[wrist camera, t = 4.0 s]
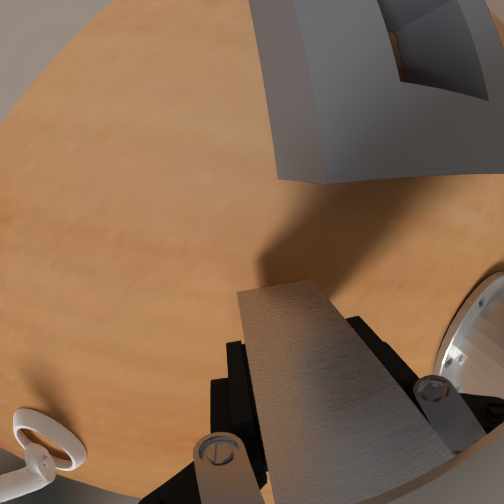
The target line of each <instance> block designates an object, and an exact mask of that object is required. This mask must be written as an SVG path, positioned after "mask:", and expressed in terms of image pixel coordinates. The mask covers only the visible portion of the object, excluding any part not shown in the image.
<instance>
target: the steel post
mask: <svg viewBox="0 0 504 504" xmlns="http://www.w3.org/2000/svg"><path fill="white" fill-rule="evenodd" d="M237 296H238V303H239V309H240V315H241V321H242V327H243V333H244V339H245V345H246V351H247V357H248V363H249V369H250V374H251V380H252V386H253V391H254V397H255V403H256V408H257V414H258V419H259V424H260V430H261V435H262V440H263V446H264V451H265V456H266V461H267V466H268V471H269V476H270V481H271V486H272V491H273V496H274V501H275V504H356V503H359V502H362V501H364V500H367V499H370V498H372V497H375V496H377V495H380V494H382V493H385V492H387V491H389V490H392V489H394V488H396V487H398V486H401V485H403V484H405V483H407V482H409V481H411V480H413V479H415V478H417V477H419V476H421V475H423V474H425V473H427V472H429V471H431V470H432V469H434V468H436V467H438V466H440V465H441V464H443V463H445V462H446V461H448V460H450V459H451V458H453V457H454V456H453V454H452V453H451V452H450V450H449V449H448V448H447V446H446V445H445V444H444V442H443V441H442V440H441V438H440V437H439V436H438V434H437V433H436V432H435V431H434V429H433V428H432V427H431V425H430V424H429V423H428V421H427V420H426V419H425V418H424V416H423V415H422V414H421V412H420V411H419V410H418V408H417V407H416V406H415V405H414V403H413V402H412V401H411V400H410V398H409V397H408V396H407V394H406V393H405V392H404V391H403V389H402V388H401V387H400V386H399V384H398V383H397V382H396V381H395V379H394V378H393V377H392V376H391V374H390V373H389V372H388V371H387V369H386V368H385V367H384V366H383V364H382V363H381V362H380V361H379V359H378V358H377V357H376V356H375V355H374V353H373V352H372V351H371V350H370V348H369V347H368V346H367V345H366V344H365V342H364V341H363V340H362V339H361V337H360V336H359V335H358V334H357V333H356V331H355V330H354V329H353V328H352V327H351V325H350V324H349V323H348V322H347V321H346V319H345V318H344V317H343V316H342V315H341V313H340V312H339V311H338V310H337V309H336V307H335V306H334V305H333V304H332V303H331V302H330V300H329V299H328V298H327V297H326V296H325V294H324V293H323V292H322V291H321V290H320V289H319V287H318V286H317V285H316V284H315V283H314V282H313V280H312V279H307V280H301V281H296V282H291V283H285V284H280V285H274V286H269V287H263V288H257V289H252V290H246V291H240V292H237Z"/></svg>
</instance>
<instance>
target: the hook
mask: <svg viewBox="0 0 504 504" xmlns="http://www.w3.org/2000/svg"><path fill="white" fill-rule="evenodd" d="M21 428H27V429H30V430H33V431H35V432H38V433H40V434H42V435H44V436H45V437H47V438H49V439H50V440H52V441H53V442H54V443H56V444H57V445H58V446H60V447H61V448H62V449H63V450H64V451H65V452H66V453H67V454H68V455H69V456H70V458H71V460H72V461H69V460H64V459H60V458H57V457H55V456H52V455H50V454H49V452H48V450H47V449H46V448H44V447H43V446H41V445H40V444H35V443H33V442H31V441H30V440H29V439H28V438H27V437H26V435H25V434H24V433H23V432H22V430H21ZM13 431H14V435H15V437H16V439H17V440H18V442H19V443H20V444H21V446H22V447H23V448H24V449H25V461H26V464H27V466H26V467H25V468H23V469H20V470H17V471H13V472H10V473H6V474H3V475H0V502H4V501H7V500H10V499H13V498H16V497H19V496H22V495H24V494H27V493H30V492H33V491H35V490H38V489H40V488H42V487H44V486H45V485H47V484H49V483H51V482H52V481H53V480H54V478H55V475H56V469H60V470H65V471H70V470H74V469H75V468H77V467H78V466H80V465H81V464H82V463H83V462H84V461H85V459H86V456H87V453H86V450H85V448H84V446H83V444H82V443H81V442H80V441H79V439H78V438H77V437H76V436H75V435H74V434H73V433H71V432H70V431H69V430H68V429H67V428H65V427H64V426H62V425H61V424H60V423H58V422H57V421H55V420H53V419H52V418H50V417H48V416H46V415H44V414H42V413H40V412H38V411H35V410H31V409H26V408H21V409H18V410H16V411H15V413H14V417H13Z"/></svg>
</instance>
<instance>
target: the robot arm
mask: <svg viewBox="0 0 504 504" xmlns="http://www.w3.org/2000/svg"><path fill="white" fill-rule="evenodd" d="M346 321H347V322H348V323H349V324H350V325H351V327H352V328H353V329H354V330H355V331H356V333H357V334H358V335H359V336H360V337H361V339H362V340H363V341H364V342H365V344H366V345H367V346H368V347H369V348H370V350H371V351H372V352H373V353H374V355H375V356H376V357H377V358H378V359H379V361H380V362H381V363H382V364H383V366H384V367H385V368H386V369H387V371H388V372H389V373H390V374H391V376H392V377H393V378H394V379H395V381H396V382H397V383H398V384H399V386H400V387H401V388H402V389H403V391H404V392H405V393H406V394H407V396H408V397H409V398H410V400H411V401H412V402H413V403H414V405H415V406H416V407H417V408H418V410H419V411H420V412H421V414H422V415H423V416H424V418H425V419H426V420H427V421H428V423H429V424H430V425H431V427H432V428H433V429H434V431H435V432H436V433H437V434H438V436H439V437H440V438H441V440H442V441H443V442H444V444H445V445H446V446H447V448H448V449H449V450H450V452H451V453H452V454H453V456H454V457H453V458H451V459H450V460H448V461H446V462H445V463H443V464H441V465H440V466H438V467H436V468H434V469H432V470H431V471H429V472H427V473H425V474H423V475H421V476H419V477H417V478H415V479H413V480H411V481H409V482H407V483H405V484H403V485H401V486H398V487H396V488H394V489H392V490H389V491H387V492H385V493H382V494H380V495H377V496H375V497H372V498H370V499H367V500H364V501H362V502H359V503H356V504H504V271H501V272H497V273H494V274H492V275H491V276H489V277H488V278H487V279H485V280H484V281H483V282H482V283H481V284H480V285H479V286H478V287H477V288H476V289H475V290H474V291H473V292H472V293H471V295H470V296H469V297H468V298H467V300H466V301H465V303H464V304H463V305H462V307H461V308H460V310H459V311H458V313H457V315H456V316H455V318H454V320H453V322H452V323H451V325H450V327H449V329H448V331H447V333H446V335H445V337H444V339H443V342H442V344H441V347H440V349H439V352H438V355H437V359H436V362H435V369H434V375H429V376H424V377H422V378H420V379H419V377H418V376H417V375H416V374H415V373H414V372H413V371H412V370H411V369H410V368H409V366H408V365H407V364H406V363H405V362H404V361H403V360H402V359H401V358H400V357H399V355H398V354H397V353H396V352H395V351H394V350H393V349H392V348H391V347H390V346H389V345H388V344H387V343H386V342H383V341H382V340H381V339H380V338H379V337H378V336H377V335H376V334H375V333H374V332H373V330H372V329H371V328H370V327H369V326H368V325H367V324H366V323H365V322H364V321H363V320H362V319H361V318H360V317H359V316H354V317H350V318H347V319H346ZM226 350H227V365H228V378H221V379H214V380H211V390H210V423H211V434H208V435H206V436H204V437H203V438H201V439H200V440H199V441H198V442H197V443H196V445H195V447H194V449H193V458H194V461H193V462H192V463H190V464H189V465H188V466H187V467H185V468H184V469H183V470H181V471H180V472H179V473H178V474H176V475H175V476H174V477H172V478H171V479H170V480H168V481H167V482H165V483H164V484H163V485H161V486H160V487H159V488H157V489H156V490H154V491H153V492H151V493H150V494H149V495H147V496H146V497H144V498H143V499H142V500H141V501H140V502H139V503H138V504H265V503H264V500H263V497H262V495H261V492H260V490H261V489H262V487H263V486H264V485H265V484H266V483H267V474H266V472H267V471H268V466H267V461H266V456H265V451H264V446H263V440H262V435H261V430H260V424H259V419H258V414H257V408H256V403H255V397H254V391H253V386H252V380H251V374H250V369H249V363H248V357H247V351H246V345H245V344H241V341H235V342H229V343H226ZM465 392H467V393H468V394H465Z"/></svg>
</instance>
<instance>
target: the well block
mask: <svg viewBox="0 0 504 504" xmlns="http://www.w3.org/2000/svg"><path fill="white" fill-rule="evenodd" d="M249 3H250V8H251V13H252V18H253V23H254V29H255V34H256V39H257V45H258V50H259V56H260V62H261V68H262V73H263V79H264V85H265V91H266V98H267V104H268V110H269V117H270V123H271V130H272V137H273V144H274V151H275V158H276V165H277V172H278V179H285V180H294V181H302V182H310V183H318V184H325V185H327V184H336V183H346V182H356V181H366V180H378V179H390V178H403V177H418V176H436V175H458V174H504V49H503V46H502V43H501V40H500V37H499V35H498V32H497V29H496V27H495V24H494V22H493V19H492V17H491V14H490V12H489V10H488V7H487V5H486V3H485V1H484V0H249ZM387 31H390V32H394V33H395V37H396V40H397V43H398V47H399V51H400V54H401V58H402V62H403V66H404V70H405V75H406V79H407V83H405V82H400V78H399V74H398V69H397V65H396V61H395V57H394V53H393V49H392V46H391V42H390V39H389V35H388V32H387Z"/></svg>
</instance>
